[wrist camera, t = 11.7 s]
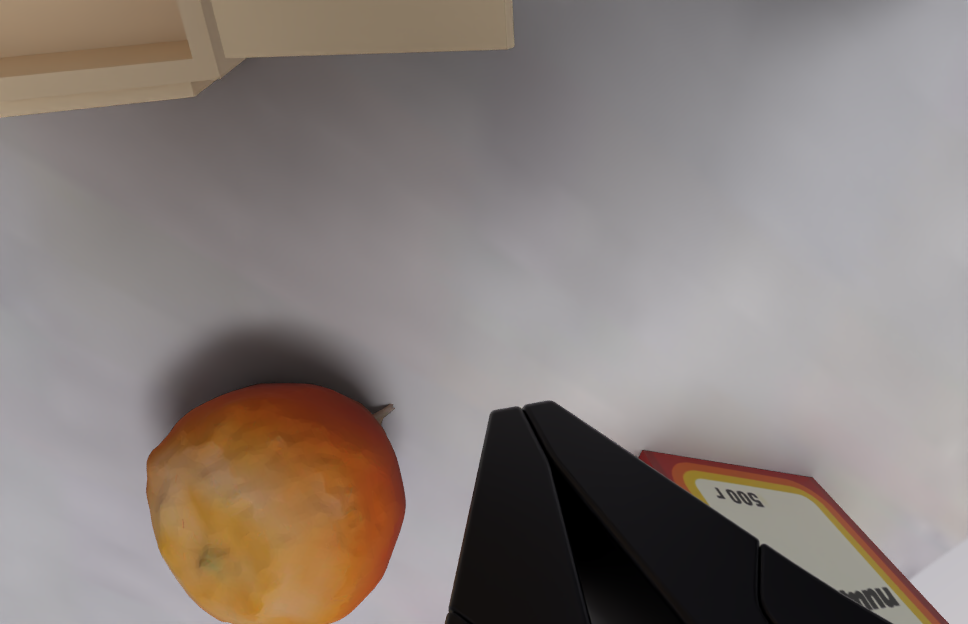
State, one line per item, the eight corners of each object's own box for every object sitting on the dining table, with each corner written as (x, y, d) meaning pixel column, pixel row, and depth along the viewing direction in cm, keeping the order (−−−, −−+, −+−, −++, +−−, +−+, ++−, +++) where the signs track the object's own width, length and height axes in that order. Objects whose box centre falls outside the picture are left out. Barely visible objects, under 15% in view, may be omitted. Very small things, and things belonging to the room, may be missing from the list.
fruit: (420, 552, 25) (305, 731, 18) (256, 467, 27) (91, 600, 20) (478, 387, 22) (365, 524, 15) (288, 300, 24) (104, 387, 17)
